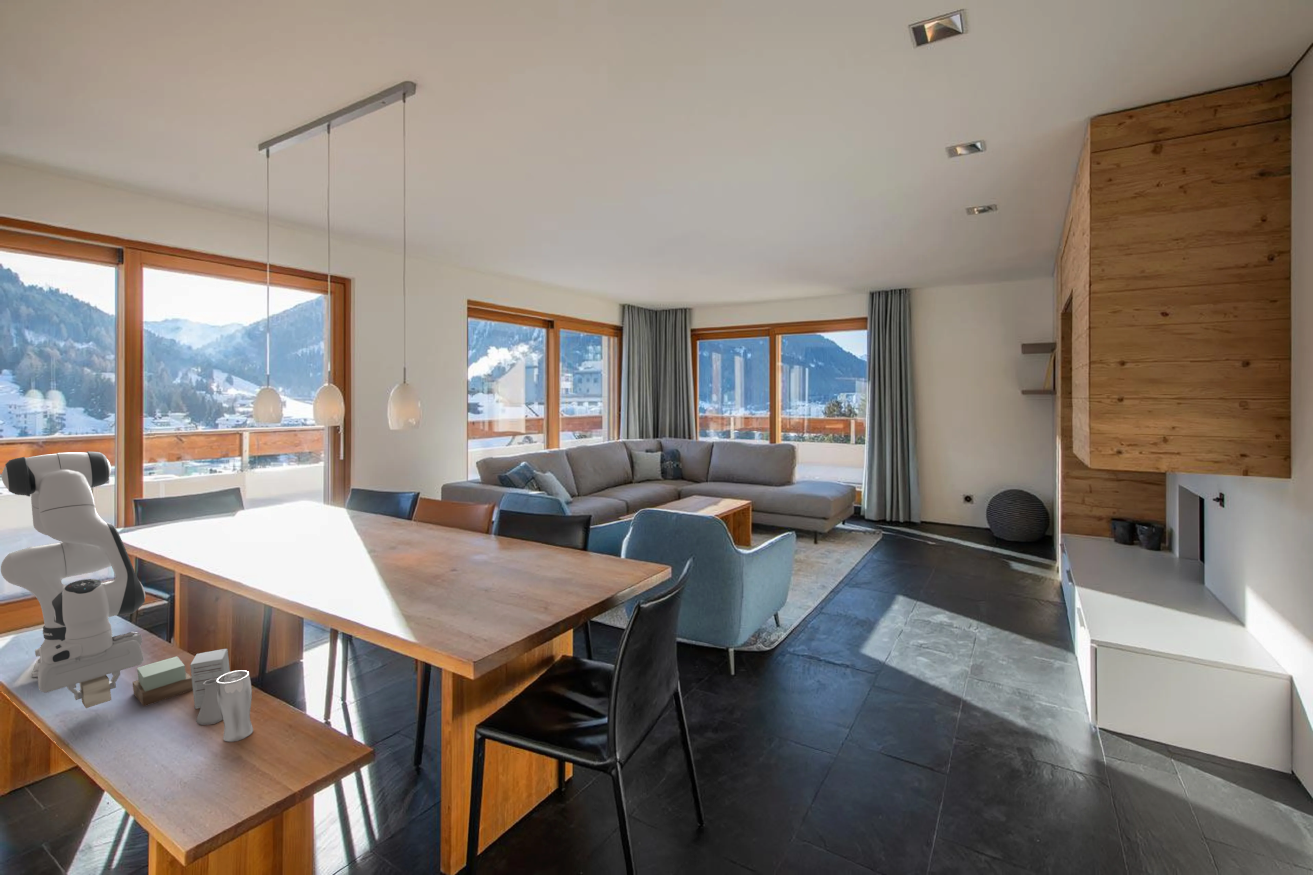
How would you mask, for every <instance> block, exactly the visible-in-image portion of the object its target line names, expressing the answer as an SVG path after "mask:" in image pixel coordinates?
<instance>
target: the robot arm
mask: <svg viewBox="0 0 1313 875" xmlns="http://www.w3.org/2000/svg"><path fill="white" fill-rule="evenodd" d="M1 472H2V473H1V480H2V483H3V485H4V486H5V488H6V489H7V490H8V492H10V493H12V494H13V495H18V496H26V497H30V502H31V515H32V524H33V528H34V529H35V530H36V531H37V532H38V533H40V534H42V535H45V536H48V537H49V538H51V539H53V540H56V541H58V542H55V543H54V542H53V543H47V544H42V545H37V546H36V545H34V546H29V547H26V548H22V549H19V550H17V551H16V550H15V551H12V552H9V553H8V554H7V555H6V556H5V557H4V558H3V560H2V562H1V564H0V574H1V576H2V577H3V578H4V580H5V581H6V582H8V583H9V584H11V585H13V586H17V587H19V588H23V589H24V590H27V591H29V592H30V593H31V594H32V595H33V596H35V598H36V599H37V601H38V603H39V605H40V608H41V612H42V617H43V618H42V619H43V622H44V625H43V627H42V634H43V639H44V640H43V642H42V643H41V644H40V647H39V648H35V650H34V654H35V655H34V656H35V657H37V659H36V662H35V664H34V668H33V671H32V673H31V677H32V678H37V685H38V689H39V691H40V692H42V693H45V694H47V693H49V692H53V691H56V690H57V691H58V690H60V689H64V688H67V689H68V691H70V692H71V693H72V694H73V695H74V696H73V697H74V700H75V701H78V700H82V699H81V698H83V691H82V690H77V689H76V688H77V684H80V682H84V681H87V680H90V679H94V678H97V677H100V676H104V675H107V676H108V675H112V678H111V680H109V683H110V690H114V689H116V688H117V684H116V682H117V681H118V679H119V677H120V676H121V671H123V670H127V669H130V668H133V667H136V666H140V665H141V664H142V663H143V662H144V653H143V650H142V647H141V646H142V643H143V635H142V634H141V633H140V632H134V631H130V632H127V633H124V634H123V633H122V634H119V635H114V636H113V629H112V625H111V622H110V621H109V620H110V619H109V618H111V617H116V616H117V617H118V616H124V615H130V614H134V613H135V612H136V611H138V610H139V608H141V607H142V605H144V604H145V601H146V591H145V588H144V586H143V584H142V582H141V581H140V580H139V578H138V576H137V573H136V571H135V569H134V566H133V564H132V562H131V560H130V556H129V553H128V551H127V549H126V547H125V545H124V541H123V540H122V538H121V536H120V533H119V531H118V530H117V528H116V527H115V525H113V524H112V523H111V522H106V521H105V520H104V519H102V517H100V515H99V514H98V511H97V509H96V502H95V499H94V494H93V492H92V488H96V487H100V486H103V485H105V484H106V483H107V482H108V481H109V478H110V477H111V474H112V465H111V463H110V461H109V459H108V458H107V456H106V455H105V454H103V453H102V452H99V451H86V452H57V453H52V454H51V453H50V454H42V455H36V456H35V455H33V456H30V457H25V456H23V457H17V458H13V459H9V461H7V462H6V463H5V465H4V467H3V470H2V471H1ZM110 567H111V568H112V571H113V574H114V576H115V578H114V579H112V580H108V581H103V582H102V581H101V580H100V579H95V578H86V579H85V578H84V579H80V580H76V581H73V582H70V583H68V584H67V585H66V584H64V583H63V582H62V580H63V579H66V578H70V577H71V578H72V577H75V576H76V577H77V576H80V575H86V574H91V573H95V572H99V571H101V570H104V569H107V568H110Z"/></svg>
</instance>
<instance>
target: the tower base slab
mask: <svg viewBox="0 0 1313 875" xmlns="http://www.w3.org/2000/svg"><path fill="white" fill-rule="evenodd" d="M185 673H186V679H184V680H181V681H178V682H175V683H171V684H168V685H165V686H162V687H158V688H155V689H152V690H149V691H146V692H145V691H144V689H143V688H142V686H141V684H140V683H139V680H138V679H137V680H133V681H132V690H133V695H134V696H135V697H136V698H137V700H138V701H139V703H141V705H142V706H143V707H147V706H149V705H152V704H155V703H158V702H161V701H163V700H167V699H171V698H172V697H175V696H178V695H182V694H184V693H187V692H188V693H189V692H191V691H193V687H192V677H191V675H190V674H189V673H188V672H187V671H186V670H185Z"/></svg>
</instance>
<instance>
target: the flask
mask: <svg viewBox="0 0 1313 875" xmlns="http://www.w3.org/2000/svg"><path fill="white" fill-rule="evenodd" d="M203 685H204V686H205V694H204V699H203V702H202V706H201V708H199V712H198V715H197V717H196V720H195V723H196V724H199V725H201V726H204V725H205V726H208V725H209V726H210V725H215V724H217V723H219V722H221V721H222V722H223V718H222V715H221V712H220V709H219V706H218V701H217V678H216V679H210V680H207V681H205V682H204V683H203Z"/></svg>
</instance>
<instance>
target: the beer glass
mask: <svg viewBox="0 0 1313 875" xmlns="http://www.w3.org/2000/svg"><path fill="white" fill-rule="evenodd" d="M252 689H253V688H252V681H251V677H250V672H249V671H247V670H242V669H241V670H233V671H230V673H227V674H224V675H222V676H220V677H219V678H218V679H217V701H218V706H219V709H220V712H221V715H222V718H223V720H222V722H223V727H224V728H223V729H224V730H223V737H222V738H223V741H224V742H227V743H234V742H238V741H242V740H244V739H246V738H248V737H249V736H251V735H252V734H253V732H254V728H253V725H252V720H251V707H252V699H253V698H252V696H253V691H252Z"/></svg>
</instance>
